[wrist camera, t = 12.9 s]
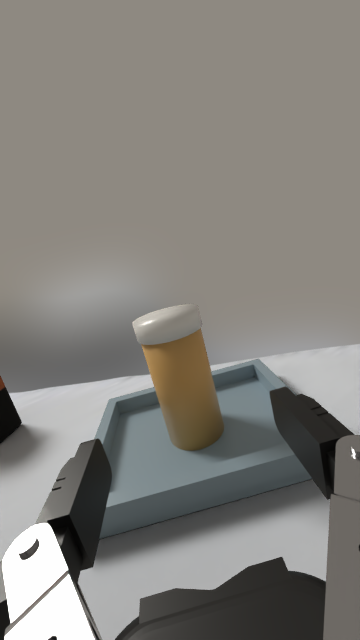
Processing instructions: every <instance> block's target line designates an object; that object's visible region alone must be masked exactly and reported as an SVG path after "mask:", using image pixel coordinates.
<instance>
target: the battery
mask: <svg viewBox="0 0 360 640" xmlns="http://www.w3.org/2000/svg"><path fill="white" fill-rule="evenodd" d="M21 423H22V422H21V419H20V417H19V415H18V413H17V411H16V409H15V406H14V404H13V402H12V400H11V398H10V396H9V393H8V391H7V389H6V387H5V385H4V383H3V381H2V378H1V376H0V443H1V442H2V441H3V440H4V439H5V438H6V437H7V436H9V435H10V434H11V433H12V432H13V431H14V430H15V429H16V428H18V427H19V426H20V425H21Z"/></svg>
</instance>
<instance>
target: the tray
mask: <svg viewBox="0 0 360 640" xmlns="http://www.w3.org/2000/svg"><path fill="white" fill-rule="evenodd" d="M211 373H212V377H213V381H214V385H215V390H216V394H217V398H218V402H219V406H220V410H221V414H222V418H223V423H224V431H223V433H222V435H221V437H220V438H219V439H218V440H217V441H216V442H215V443H213V444H212V445H210V446H208V447H206V448H203V449H200V450H194V451H187V450H182V449H179V448H177V447H176V446H174V445H173V444H172V442H171V440H170V437H169V433H168V430H167V427H166V423H165V420H164V417H163V414H162V410H161V407H160V404H159V401H158V397H157V394H156V391H155V387H153V388H149V389H146V390H142V391H138V392H135V393H131V394H127V395H124V396H120V397H116V398H113V399H109V401H108V404H107V407H106V409H105V412H104V415H103V417H102V420H101V423H100V425H99V428H98V431H97V433H96V436H95V439H100V441H101V443H102V445H103V448H104V450H105V453H106V456H107V458H108V461H109V463H110V466H111V471H112V482H111V487H110V491H109V496H108V500H107V505H106V510H105V514H104V519H103V523H102V528H101V533H100V537H99V539H101V538H105V537H108V536H112V535H115V534H119V533H122V532H126V531H129V530H133V529H136V528H140V527H143V526H147V525H151V524H154V523H158V522H161V521H165V520H168V519H172V518H175V517H179V516H182V515H186V514H189V513H193V512H196V511H200V510H203V509H207V508H211V507H214V506H218V505H221V504H225V503H228V502H232V501H235V500H239V499H242V498H246V497H249V496H253V495H256V494H260V493H263V492H267V491H271V490H274V489H278V488H281V487H285V486H288V485H292V484H295V483H299V482H302V481H306V480H309V479H312V477H311V476H310V475H309V473H308V472H307V470H306V469H305V468H304V466H303V465H302V464H301V462H300V461H299V459H298V458H297V457H296V455H295V454H294V452H293V451H292V450H291V448H290V447H289V445H288V444H287V443H286V441H285V440H284V438H283V437H282V436H281V434H280V433H279V431H278V429H277V426H276V424H275V420H274V415H273V410H272V405H271V400H270V394H269V393H270V391H271V390H274V389H278V388H281V387H285V386H286V385H285V384H284V383H283V382H282V381H281V380H280V379H279V378H278V377H277V376H276V375H275V374H274V373H273V372H272V371H271V370H270V369H269V368H268V367H267V366H266V365H264V364H263V363H262V362H261V361H260V360H259V359H256V360H252V361H249V362H245V363H241V364H238V365H234V366H230V367H227V368H223V369H219V370H216V371H212V372H211ZM286 387H287V386H286ZM291 391H292V390H291ZM292 392H293V391H292ZM293 393H294V392H293ZM294 394H295V393H294ZM295 395H296V394H295Z"/></svg>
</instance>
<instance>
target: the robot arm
mask: <svg viewBox="0 0 360 640" xmlns="http://www.w3.org/2000/svg"><path fill="white" fill-rule="evenodd" d="M269 394H270V400H271V405H272V410H273V415H274V420H275V424H276V426H277V429H278V431H279V433H280V434H281V436H282V437H283V438H284V440H285V441H286V443H287V444H288V445H289V447H290V448H291V450H292V451H293V452H294V454H295V455H296V457H297V458H298V459H299V461H300V462H301V464H302V465H303V466H304V468H305V469H306V470H307V472H308V473H309V475H310V476H311V477H312V479H313V480H314V482H315V483H316V484H317V486H318V487H319V489H320V490H321V491H322V493H323V494H324V496H325V497H326V498H327V500H328V499H330V517H329V536H328V556H327V575H326V582H325V581H323V580H321V579H319V578H317V577H315V576H312V575H308V574H305V573H301V572H295V571H288V569H287V567H286V565H285V562H284V560H283V558H282V557H279V558H276V559H273V560H269V561H266V562H263V563H259V564H256V565H252V566H249V567H247V568H245V569H244V570H242V571H241V572H240V573H238V574H237V575H235V576H234V577H232V578H231V579H229V580H228V581H227V582H225V583H224V584H222V585H221V586H219V587H218V588H216V589H214V590H198V589H178V588H175V589H172V590H168V591H165V592H162V593H158V594H155V595H152V596H148V597H145V598H141V599H140V612H139V617H137V618H136V619H135V620H133V621H132V622H131V623H130V624H129V625H128V626H126V628H125V629H124V630H123V631H122V632H121V633H120V634H119V635H118V636H117V638H116V639H115V640H360V435H354V434H353V433H352V432H351V431H350V430H348V429H347V428H346V427H345V426H344V425H343V424H342V423H340V422H339V421H338V420H337V419H336V418H335V417H333V416H332V415H331V414H330V413H328V411H327V410H325V409H324V408H323V407H321V405H320V404H319V403H317V402H316V401H315V400H314V399H312V398H310V397H308V396H305V395H303V394H300V395H295V394H294V393H293V392H292V391H291V390H290V389H289V388H288V387H286V386H285V387H281V388H278V389H274V390H271V391H270V393H269ZM111 482H112V471H111V466H110V463H109V461H108V458H107V456H106V453H105V450H104V448H103V445H102V443H101V441H100V439H94V440H90V441H87V442H83V443H81V444H80V446H79V448H78V450H77V453H76V455H75V457H74V458H70V460H69V461H68V462H67V463H66V464H65V465H64V467H63V468H62V469H61V471H60V473H59V475H58V477H57V479H56V482H55V484H54V486H53V488H52V491H51V492H50V494H49V496H48V498H47V500H46V502H45V505H44V507H43V509H42V511H41V513H40V515H39V517H38V519H37V521H36V523H35V526H33V527H31V528H29V529H28V530H26V531H25V532H23V533H22V534H21V535H20V536H19V537H18V538H17V539H16V540H15V541H14V542H13V543H12V545H11V546H10V548H9V549H8V551H7V552H6V554H5V557H4V559H3V560H2V561H0V640H102V638H101V636H100V633H99V631H98V628H97V626H96V624H95V621H94V619H93V617H92V614H91V612H90V610H89V607H88V605H87V603H86V600H85V598H84V595H83V593H82V591H81V588H80V586H79V584H78V578H79V575H80V571H81V570H84V569H88V568H91V567H93V565H94V560H95V556H96V551H97V546H98V542H99V537H100V533H101V528H102V523H103V519H104V514H105V510H106V505H107V500H108V496H109V491H110V487H111Z"/></svg>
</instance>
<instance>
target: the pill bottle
mask: <svg viewBox="0 0 360 640" xmlns="http://www.w3.org/2000/svg"><path fill="white" fill-rule="evenodd" d="M201 326H202V321H201V317H200V313H199V309H198V305H195V304H184V305H178V306H172V307H168V308H165V309H161V310H157V311H154V312H151V313H149V314H146V315H144V316H141V317H139V318H138V319H136V320H135V321H134V322H133V327H134V331H135V334H136V337H137V340H138V343H140V344H141V345H142V348H143V351H144V355H145V358H146V361H147V364H148V368H149V371H150V374H151V378H152V381H153V384H154V387H155V391H156V394H157V397H158V401H159V404H160V407H161V410H162V414H163V417H164V420H165V423H166V427H167V430H168V433H169V437H170V440H171V442H172V444H173V445H174V446H176V447H177V448H179V449H182V450H187V451H194V450H200V449H203V448H206V447H208V446H210V445H212V444H213V443H215V442H216V441H217V440H218V439H219V438H220V437H221V435H222V433H223V431H224V423H223V418H222V414H221V410H220V406H219V402H218V398H217V394H216V390H215V385H214V381H213V377H212V373H211V369H210V365H209V361H208V357H207V352H206V349H205V344H204V340H203V336H202V332H201Z"/></svg>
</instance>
